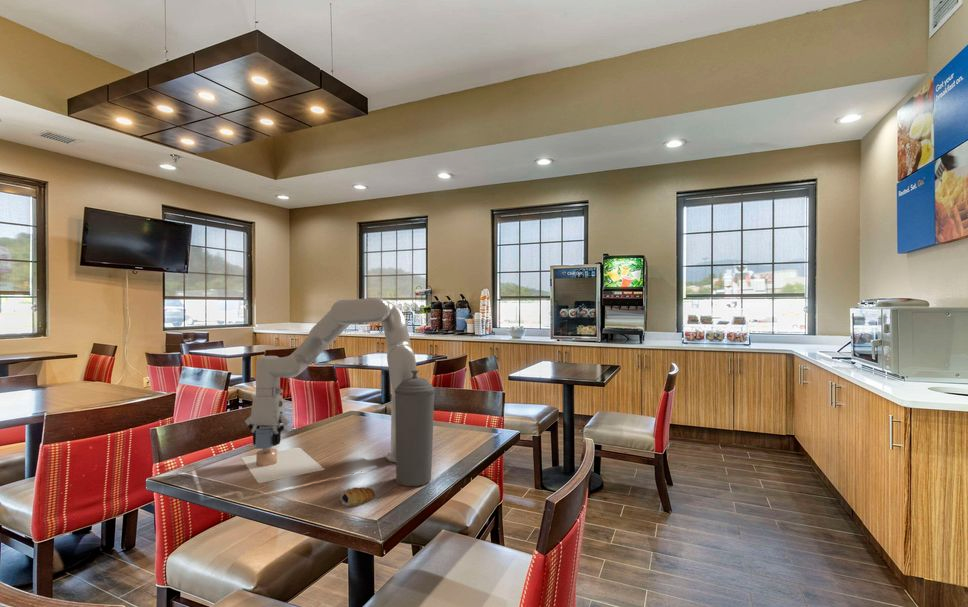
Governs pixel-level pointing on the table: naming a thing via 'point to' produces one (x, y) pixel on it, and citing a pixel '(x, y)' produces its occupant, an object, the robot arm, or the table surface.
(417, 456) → the canister
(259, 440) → the cap
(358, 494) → the pastry
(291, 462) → the board
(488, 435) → the table surface
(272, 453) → the round stamp handle
